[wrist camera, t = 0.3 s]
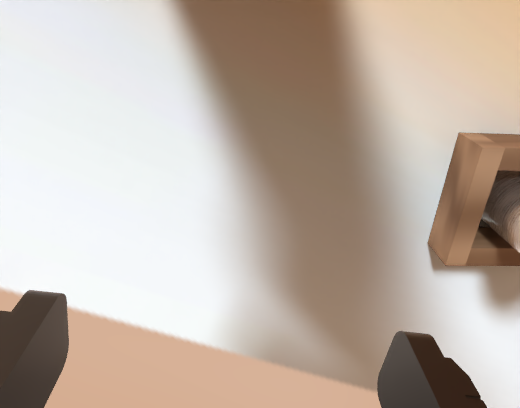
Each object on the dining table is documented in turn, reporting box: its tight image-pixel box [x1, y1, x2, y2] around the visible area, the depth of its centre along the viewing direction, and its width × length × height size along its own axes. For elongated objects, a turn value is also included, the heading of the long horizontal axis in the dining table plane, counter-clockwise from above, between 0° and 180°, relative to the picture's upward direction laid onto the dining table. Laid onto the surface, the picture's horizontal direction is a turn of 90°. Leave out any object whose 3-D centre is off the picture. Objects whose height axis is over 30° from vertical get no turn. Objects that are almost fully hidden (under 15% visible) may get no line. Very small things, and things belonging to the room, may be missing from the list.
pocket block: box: [428, 133, 520, 266], centre depth 30 cm, size 9×9×3 cm
